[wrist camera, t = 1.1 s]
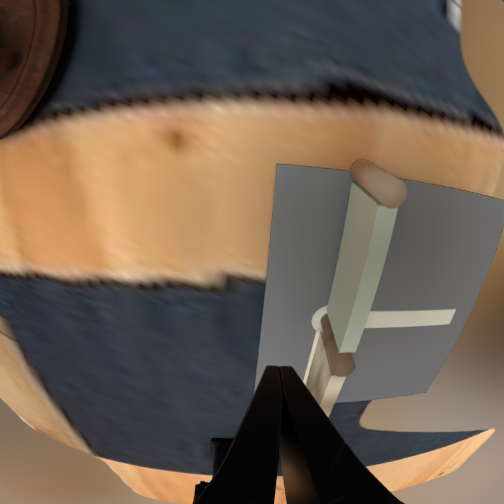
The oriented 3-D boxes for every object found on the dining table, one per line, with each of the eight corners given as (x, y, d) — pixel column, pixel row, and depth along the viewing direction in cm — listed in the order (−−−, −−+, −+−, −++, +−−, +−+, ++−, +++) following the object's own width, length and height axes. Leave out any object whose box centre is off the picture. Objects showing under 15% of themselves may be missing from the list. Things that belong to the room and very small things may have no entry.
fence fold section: (343, 310, 24) (359, 355, 19) (323, 310, 24) (337, 355, 19) (375, 161, 18) (409, 180, 14) (352, 157, 18) (382, 176, 14)
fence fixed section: (312, 402, 30) (318, 446, 25) (297, 403, 30) (302, 447, 25) (340, 311, 24) (358, 361, 19) (322, 311, 24) (336, 362, 19)
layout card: (425, 391, 31) (426, 393, 30) (253, 402, 30) (253, 404, 30) (509, 201, 20) (511, 202, 19) (276, 163, 19) (277, 164, 19)
